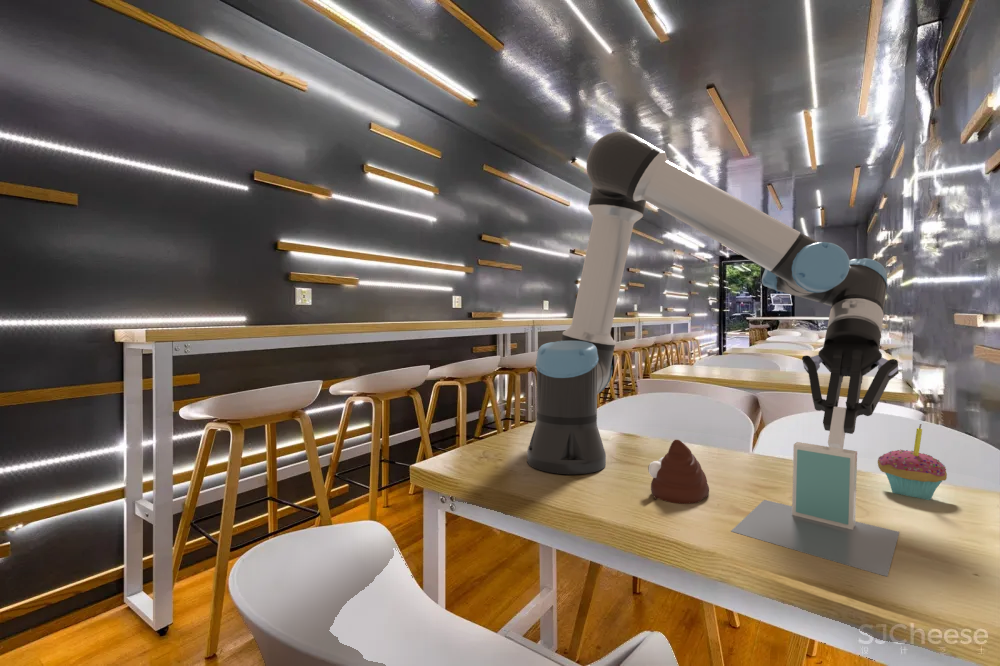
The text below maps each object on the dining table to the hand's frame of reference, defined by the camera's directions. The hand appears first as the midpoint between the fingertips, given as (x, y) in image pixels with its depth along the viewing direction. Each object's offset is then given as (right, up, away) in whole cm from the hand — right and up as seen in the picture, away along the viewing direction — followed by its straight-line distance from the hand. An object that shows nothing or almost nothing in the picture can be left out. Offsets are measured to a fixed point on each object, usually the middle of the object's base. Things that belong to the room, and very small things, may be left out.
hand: (835, 448), depth 71 cm
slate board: (-8, -10, -8) cm, 14 cm away
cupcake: (+17, -9, +7) cm, 21 cm away
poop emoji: (-20, -9, +6) cm, 23 cm away
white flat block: (-4, -9, -4) cm, 11 cm away
